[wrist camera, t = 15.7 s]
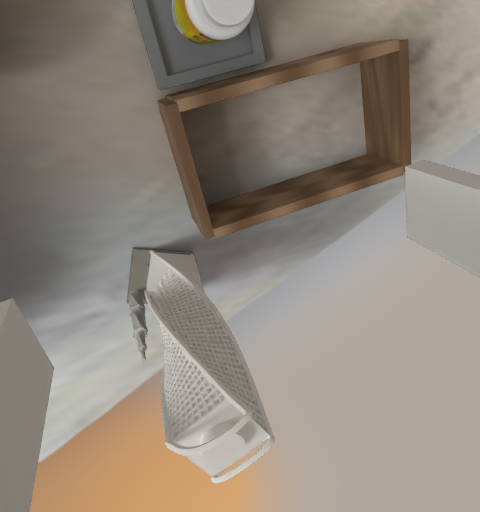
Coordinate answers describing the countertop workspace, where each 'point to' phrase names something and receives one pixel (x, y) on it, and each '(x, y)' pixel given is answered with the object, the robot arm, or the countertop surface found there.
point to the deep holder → (321, 181)
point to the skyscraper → (197, 366)
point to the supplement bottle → (211, 19)
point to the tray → (192, 47)
